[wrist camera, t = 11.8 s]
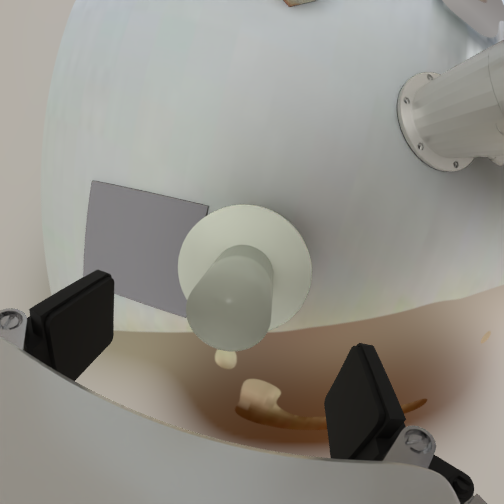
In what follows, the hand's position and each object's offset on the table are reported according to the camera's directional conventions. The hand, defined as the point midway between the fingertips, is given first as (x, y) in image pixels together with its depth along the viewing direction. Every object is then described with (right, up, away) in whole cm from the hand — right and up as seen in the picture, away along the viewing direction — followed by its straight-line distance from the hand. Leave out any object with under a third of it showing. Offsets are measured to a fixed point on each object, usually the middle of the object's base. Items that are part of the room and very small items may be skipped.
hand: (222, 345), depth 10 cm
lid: (+1, +2, +10) cm, 10 cm away
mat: (-13, +4, +23) cm, 27 cm away
